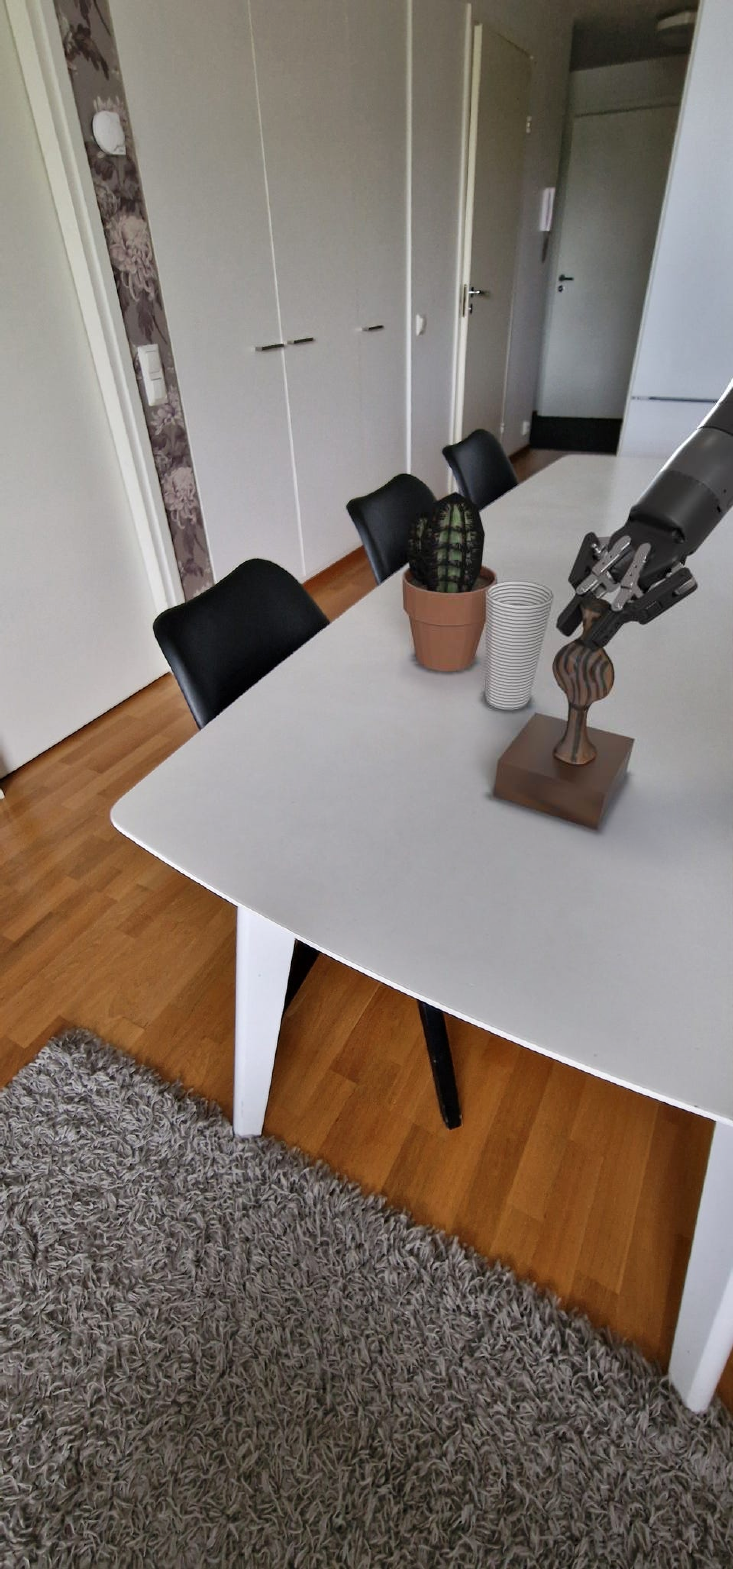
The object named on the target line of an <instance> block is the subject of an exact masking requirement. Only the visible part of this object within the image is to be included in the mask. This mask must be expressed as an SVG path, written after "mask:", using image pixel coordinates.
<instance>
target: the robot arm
mask: <svg viewBox="0 0 733 1569" xmlns="http://www.w3.org/2000/svg"><path fill="white" fill-rule="evenodd" d="M732 508H733V378H731V381H730V383H729V384H728V386H727V388H726V389H725V391H724V392H723V394H722V395H721V397H720V398H719V400H718V401H717V402H716V404H714V407H712V409H711V410H710V411H709V412H708V414H707V415H706V417H705V418H704V419H703V420H702V422H701V423H700V424H699V425H698V427H697V428H696V429H695V431H693V433H692V434H691V435H690V436H689V437H688V438H687V439H686V440H685V441H684V442H683V443H682V444H681V445H680V446H679V447H678V448H677V449H676V450H675V452H673V454H672V455H671V456H670V458H669V459H668V460H667V461H666V462H665V464H664V465H663V467H662V468H661V469H660V471H659V472H658V473H657V474H656V476H655V477H654V478H653V479H652V481H651V482H650V483H649V485H648V486H647V487H646V488H645V489H644V491H643V492H642V493H641V494H640V496H639V497H638V498H637V499H636V501H635V502H634V503H633V505H631V508H630V509H629V513H628V517H627V519H626V521H625V523H624V524H623V525H622V526H620V527H619V528H618V529H616V530H615V531H613V532H612V534H611V535H610V536H597V535H596V533H595V532H593V531H589V532H587V533H586V534H585V535H584V537H583V540H582V543H581V546H580V547H579V550H578V553H577V555H576V558H575V560H574V563H573V566H572V568H571V571H570V573H569V576H568V579H567V581H568V583H569V585H571V587H572V588H573V590H574V592H575V594H574V596H573V597H572V598H571V600H569V602H568V603H567V605H566V606H565V608H564V609H563V610H562V612H560V613H559V615H558V617H557V619H556V624H555V628H556V629H557V630H558V631H559V633H561V635H563V636H565V637H567V638H569V637H571V636H572V635H573V634H574V633H575V631H576V630H577V629H578V628H579V626H580V625H581V624H583V614H582V610H581V607H580V604H579V602H580V600H581V599H582V598H585V597H595V598H600V599H603V598H604V597H605V596H606V595H607V594H608V593H609V594H611V593H613V592H615V591H616V590H617V589H618V588H619V587H620V589H619V590H618V593H617V594H616V596H615V598H614V599H613V601H612V603H611V610H608V609H606V610H605V611H604V613H603V614H602V615H601V616H600V618H599V619H598V620H597V621H596V623H595V624H594V625H593V626H592V627H591V629H590V630H589V631H588V632H587V634H586V635H585V636H584V638H583V642H584V644H585V645H586V646H587V647H588V648H589V649H590V650H592V651H594V652H596V651H598V650H599V649H600V648H601V649H602V648H604V647H606V646H607V645H608V644H609V643H610V642H611V640H612V639H613V638H614V637H615V636H616V634H618V632H619V630H621V628H622V627H623V626H624V625H625V624H629V623H630V622H634V623H636V622H637V623H638V624H639V625H641V626H644V625H648V624H649V623H650V622H652V621H653V620H655V619H656V618H658V617H659V616H661V615H662V614H663V613H666V611H668V610H670V609H671V608H672V607H674V606H675V605H677V604H679V603H680V602H681V601H683V600H684V599H686V598H687V597H688V596H690V595H691V594H693V593H694V592H696V591H697V590H698V588H699V584H698V582H697V581H696V578H695V576H694V574H693V573H692V571H691V570H690V568H689V567H686V566H685V565H686V562H687V558H688V557H690V556H692V555H694V554H695V553H696V552H697V551H698V549H699V548H701V546H702V544H703V543H704V542H705V541H706V539H707V538H708V537H709V536H710V534H712V532H713V531H714V530H715V528H716V527H717V526H718V525H719V524H720V522H722V520H723V519H724V517H725V516H726V515H727V514H728V513H729V511H730V510H731V509H732ZM607 573H608V574H609V575H610V578H609V576H608V574H607Z"/></svg>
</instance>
